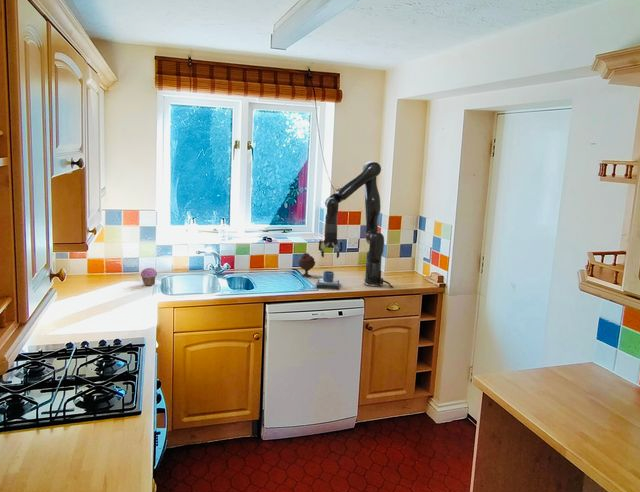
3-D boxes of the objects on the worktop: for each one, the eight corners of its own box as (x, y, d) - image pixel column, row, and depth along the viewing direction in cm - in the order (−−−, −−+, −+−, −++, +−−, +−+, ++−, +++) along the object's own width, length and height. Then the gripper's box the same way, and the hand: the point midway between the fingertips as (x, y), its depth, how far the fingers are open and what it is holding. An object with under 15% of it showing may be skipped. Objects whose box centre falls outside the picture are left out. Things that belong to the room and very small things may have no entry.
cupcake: (160, 284, 272) (159, 267, 271) (150, 287, 264) (150, 270, 263) (147, 282, 275) (147, 265, 274) (137, 285, 267) (137, 268, 266)
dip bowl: (333, 279, 284) (333, 271, 283) (333, 282, 278) (333, 273, 277) (323, 279, 285) (323, 270, 284) (322, 282, 278) (323, 273, 278)
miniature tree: (295, 277, 299) (296, 254, 297) (301, 273, 309) (301, 251, 307) (311, 278, 296) (312, 255, 294) (316, 275, 306) (317, 252, 304)
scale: (339, 283, 286) (339, 279, 286) (338, 289, 274) (338, 284, 273) (318, 282, 288) (318, 278, 287) (316, 288, 275) (316, 283, 274)
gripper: (318, 231, 275) (318, 258, 277) (342, 232, 274) (342, 259, 276) (319, 229, 282) (318, 255, 285) (342, 230, 281) (342, 256, 283)
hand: (330, 257), depth 280 cm, fingers open, 8 cm apart
